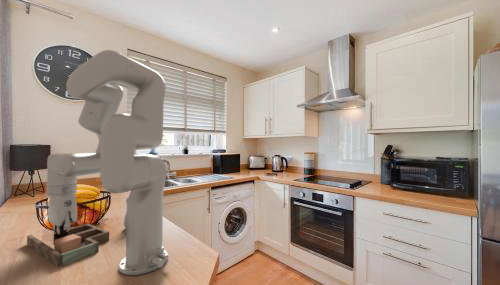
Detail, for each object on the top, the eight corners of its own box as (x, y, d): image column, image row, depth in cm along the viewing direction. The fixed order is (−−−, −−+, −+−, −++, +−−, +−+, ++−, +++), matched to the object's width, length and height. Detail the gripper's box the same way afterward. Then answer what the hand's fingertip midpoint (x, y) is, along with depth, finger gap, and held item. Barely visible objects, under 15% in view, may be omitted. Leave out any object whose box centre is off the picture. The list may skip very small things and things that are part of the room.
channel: (118, 243, 71) (118, 235, 71) (57, 267, 57) (58, 256, 57) (82, 228, 84) (82, 221, 84) (26, 244, 71) (27, 235, 71)
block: (80, 248, 68) (81, 236, 68) (61, 256, 63) (61, 243, 63) (73, 245, 70) (73, 233, 70) (54, 252, 65) (54, 239, 65)
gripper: (85, 190, 68) (84, 245, 68) (67, 185, 76) (65, 235, 75) (56, 194, 62) (54, 255, 62) (39, 189, 69) (37, 243, 69)
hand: (60, 244), depth 68 cm, fingers closed
